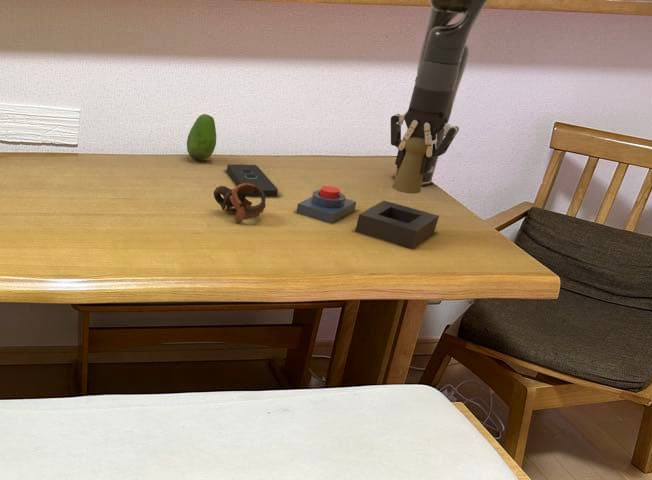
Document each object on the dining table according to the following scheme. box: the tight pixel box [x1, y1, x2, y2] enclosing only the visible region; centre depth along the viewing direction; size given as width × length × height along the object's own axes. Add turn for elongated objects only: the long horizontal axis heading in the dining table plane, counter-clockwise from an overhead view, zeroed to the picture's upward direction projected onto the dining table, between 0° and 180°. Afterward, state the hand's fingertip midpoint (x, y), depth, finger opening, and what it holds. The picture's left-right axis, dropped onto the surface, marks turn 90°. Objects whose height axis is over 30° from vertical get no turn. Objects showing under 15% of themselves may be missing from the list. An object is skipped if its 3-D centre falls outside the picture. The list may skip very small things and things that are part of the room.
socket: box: [354, 200, 440, 249], centre depth 166 cm, size 13×13×4 cm
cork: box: [391, 136, 427, 195], centre depth 158 cm, size 6×6×11 cm
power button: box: [319, 185, 341, 199], centre depth 173 cm, size 4×4×2 cm
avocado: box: [186, 113, 217, 162], centre depth 200 cm, size 8×8×12 cm
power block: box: [295, 189, 357, 224], centre depth 174 cm, size 12×9×4 cm
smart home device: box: [226, 163, 279, 198], centre depth 189 cm, size 8×2×20 cm
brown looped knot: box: [213, 183, 267, 224], centre depth 168 cm, size 12×10×8 cm
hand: (411, 170), depth 159 cm, fingers closed on cork, 4 cm apart
